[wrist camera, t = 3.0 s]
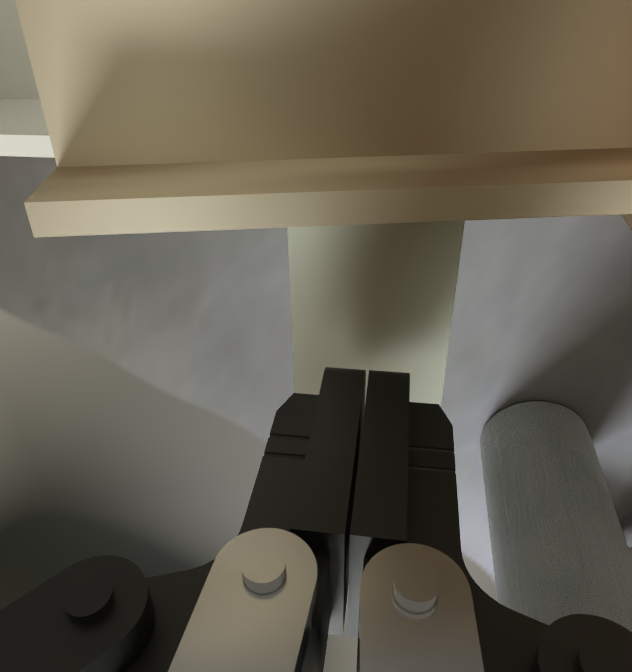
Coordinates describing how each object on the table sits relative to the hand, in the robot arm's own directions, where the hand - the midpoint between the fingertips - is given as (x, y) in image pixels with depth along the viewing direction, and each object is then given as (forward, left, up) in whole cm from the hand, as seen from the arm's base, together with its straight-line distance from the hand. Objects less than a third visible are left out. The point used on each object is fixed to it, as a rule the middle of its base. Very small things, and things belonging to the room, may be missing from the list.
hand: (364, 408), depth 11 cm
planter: (-7, +11, -12) cm, 18 cm away
